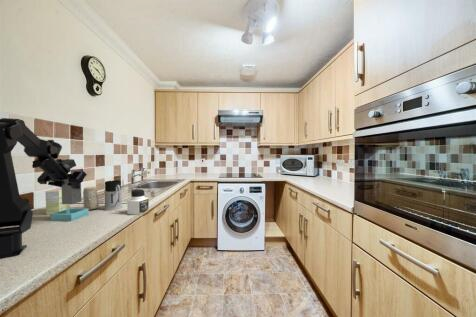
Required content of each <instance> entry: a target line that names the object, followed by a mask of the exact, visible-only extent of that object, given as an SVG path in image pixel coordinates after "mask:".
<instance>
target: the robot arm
mask: <svg viewBox="0 0 476 317" xmlns="http://www.w3.org/2000/svg"><path fill="white" fill-rule="evenodd" d="M18 143H19V144H20V145H22V146H23V147H24V148H23V153H25V155H27V156H28V157H29V158H34V160H32V165H31V167H32V169H35V168H38V169H39V168H40V170H41V171H43V172H42V173H41V174H40V175H39V176H38V177H37V179H36V180H37V183H39V184H40V185H48V186H52V187H57V188H61V181H62V180H67V179H68V182H69V183H68V184H67V185H69V186H71V187H74V188H76V189H80V183H81V184H82V182H83V180H84V179H85V178H86V176H87V174H88V173H87V172H85V171H84V170H77V171H76V170H75V171H73V172H72V170H71V169H73V168H74V167H77V163H76V162H75V159H74V158H73V159H72V158H71V159H68V158H67V159H66V158H65V159H61V158H58V157H59V156H60V153H61V151H62V149H63V146H62V144H60V143H58V142H55V140H54V139H48V140H45V139H41V138H39V137H38V136H37V134H35V133H34V132H33V131H32V130H31V129H30V128H29V127H28V126H27V125H26V123H25V121H24V120H23V119H20V118H10V117H9V118H7V117H2V118H0V259H3V258H8V257H13V256H18V255H21V253H23V251H24V250H25V249H26V248H27V247H28V245H27V244H23V234H24V233H26V232H27V231H29V230H31V228H32V222H33V215H34V213H33V210H32V207H31V202H30V200H29V199H28V198H22V197H21V196H20V192H19V185H18V180H17V175H16V171H15V167H14V162H13V157H12V151H13V150H14V148H15V147H16V146H17V144H18Z"/></svg>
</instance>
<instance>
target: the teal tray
mask: <svg viewBox="0 0 476 317" xmlns="http://www.w3.org/2000/svg"><path fill="white" fill-rule="evenodd" d="M88 215H89V210H88V209H84V208H75V207H73V208H71V207H70V208H69V209H66V210H63V211H60V212H56V213H53V214H50V221H51V222H73V221H75V220H78V219H81V218H83V217H87V216H88Z"/></svg>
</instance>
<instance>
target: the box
mask: <svg viewBox="0 0 476 317" xmlns="http://www.w3.org/2000/svg"><path fill="white" fill-rule="evenodd" d="M70 206H71V204H62V188H61V187H57V188H53V189H50V190H46V191H45V216H46V215H50V216H51V214H53V213H56V212H60V211H63V210H66V209H69V208H71V207H70Z"/></svg>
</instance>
